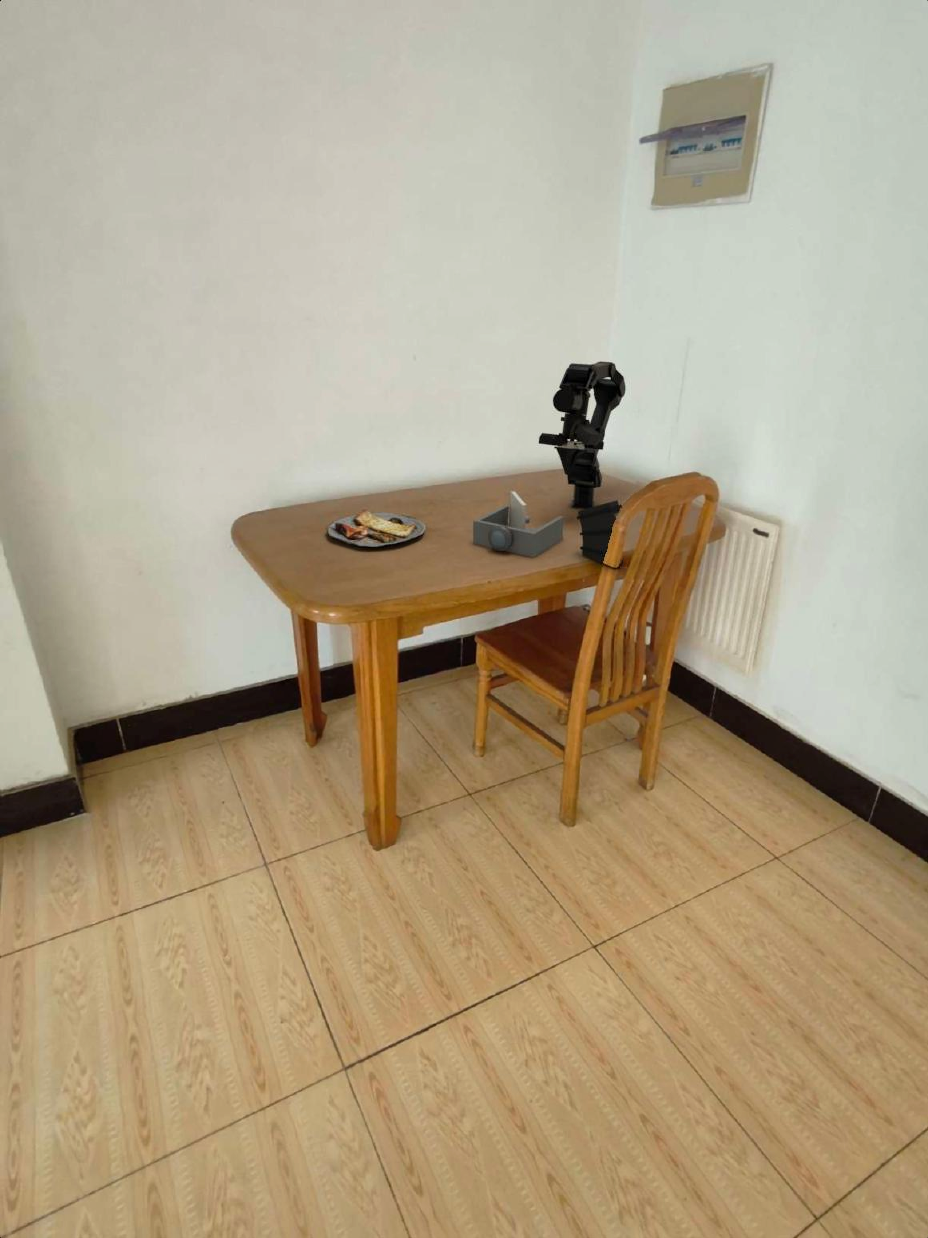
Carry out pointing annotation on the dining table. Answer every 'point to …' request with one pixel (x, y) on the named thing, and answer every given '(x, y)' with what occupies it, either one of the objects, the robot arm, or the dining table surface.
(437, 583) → the dining table surface
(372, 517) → the food plate
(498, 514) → the grey open box
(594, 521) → the black ribbed curved block
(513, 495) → the side door
